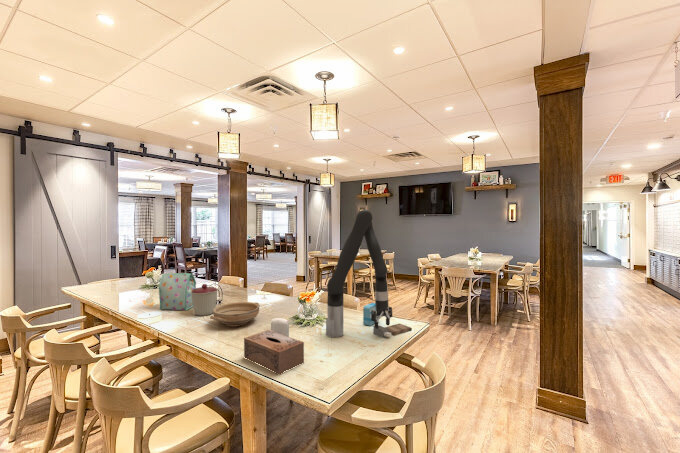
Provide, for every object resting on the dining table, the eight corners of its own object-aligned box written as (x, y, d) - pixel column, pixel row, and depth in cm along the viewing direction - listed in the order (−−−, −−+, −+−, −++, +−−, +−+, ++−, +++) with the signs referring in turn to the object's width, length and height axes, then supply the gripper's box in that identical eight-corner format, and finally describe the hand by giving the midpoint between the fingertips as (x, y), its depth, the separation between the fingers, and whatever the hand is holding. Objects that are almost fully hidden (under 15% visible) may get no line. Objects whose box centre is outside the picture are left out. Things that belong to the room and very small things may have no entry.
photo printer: (290, 340, 171) (290, 318, 171) (286, 343, 167) (286, 320, 167) (273, 338, 174) (273, 316, 174) (269, 341, 170) (269, 318, 170)
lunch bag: (198, 305, 243) (198, 271, 242) (186, 311, 226) (185, 274, 226) (170, 304, 245) (170, 270, 245) (156, 310, 229) (156, 274, 228)
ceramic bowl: (228, 336, 177) (228, 318, 177) (196, 327, 192) (196, 311, 191) (273, 318, 210) (273, 303, 209) (242, 312, 224) (242, 298, 224)
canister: (212, 317, 212) (211, 286, 212) (185, 317, 212) (185, 286, 212) (222, 310, 230) (222, 281, 230) (198, 310, 230) (197, 281, 230)
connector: (392, 337, 175) (392, 330, 175) (386, 339, 172) (386, 332, 172) (377, 331, 185) (377, 324, 185) (371, 332, 182) (371, 326, 182)
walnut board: (393, 335, 178) (393, 332, 178) (381, 330, 186) (381, 327, 186) (411, 330, 187) (411, 327, 187) (399, 325, 195) (399, 323, 195)
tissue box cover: (303, 363, 144) (303, 342, 144) (279, 375, 133) (279, 352, 133) (268, 349, 160) (268, 329, 160) (244, 358, 149) (244, 338, 149)
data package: (369, 326, 194) (369, 307, 193) (363, 325, 196) (363, 306, 196) (379, 321, 203) (379, 303, 203) (373, 320, 206) (373, 302, 206)
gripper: (376, 302, 172) (377, 331, 172) (395, 297, 180) (395, 325, 180) (367, 299, 178) (368, 327, 178) (386, 295, 186) (386, 322, 186)
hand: (382, 326), depth 179 cm, fingers open, 8 cm apart
